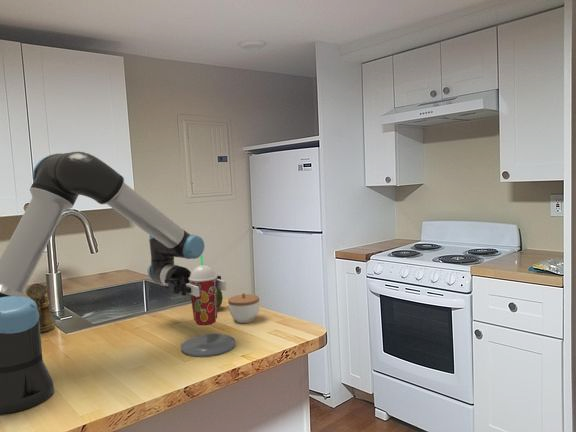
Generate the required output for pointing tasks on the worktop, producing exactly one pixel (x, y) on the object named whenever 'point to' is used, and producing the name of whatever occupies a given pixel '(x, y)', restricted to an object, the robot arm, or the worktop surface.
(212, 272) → the smoothie
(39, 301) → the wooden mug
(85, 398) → the worktop surface
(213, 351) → the slate plate
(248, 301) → the lidded jar
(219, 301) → the avocado
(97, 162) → the robot arm
